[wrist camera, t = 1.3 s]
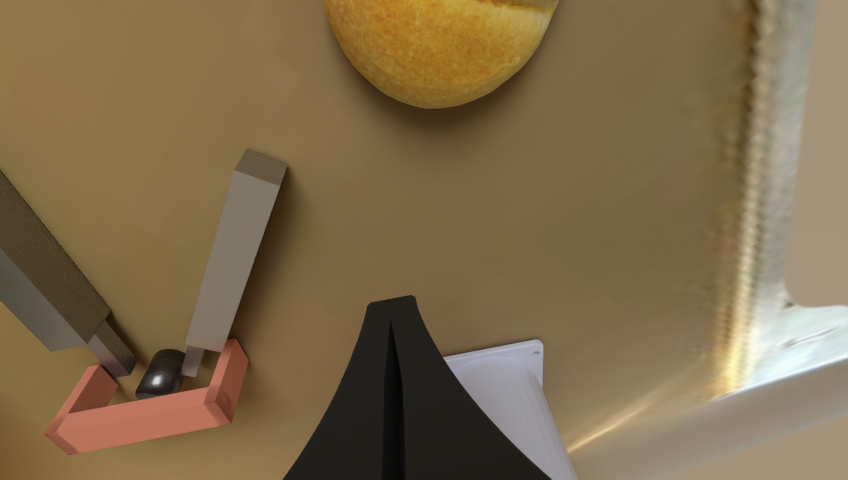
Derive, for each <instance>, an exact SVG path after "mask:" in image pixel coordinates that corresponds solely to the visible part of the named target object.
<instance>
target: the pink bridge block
mask: <svg viewBox="0 0 848 480" xmlns="http://www.w3.org/2000/svg"><path fill="white" fill-rule="evenodd" d="M248 362H249V360H248V358H247V357H246V355H245V353H244V351H243V350H242V348H241V346H240V345H239V343H238V341H237V340H236V338H235V339H230V340H226V343H225V346H224V348H223V351H222V353H221V355H220V357H219V360H218V363H217V366H216V369H215V372H214V374H213V377H212V380H211V383H210V386H209V387H206V388H200V389H195V390H190V391H185V392H180V393H174V394H169V395H164V396H159V397H153V398H148V399H143V400H138V401H132V402H127V403H122V404H117V405H112V406H107V405H108V403H109V401H110V400H111V398H112V396H113V394H114V392H115V391H116V389H117V387H118V385H117V383H116V382H115V381H114V380H113V379H112V378H111V377H110V376H109V375H108V374H107V372H106V371H105V370H104V369H103V368H102V367H101V366H100V365H99V364H98V365H93V366H89V367H88V368H87V370H86V371H85V373H84V374H83V376H82V377H81V379H80V380H79V382H78V384H77V385H76V387H75V388H74V390H73V391H72V393H71V394H70V396H69V397H68V399H67V400H66V402H65V403H64V405H63V406H62V408H61V409H60V411H59V412H58V414H57V415H56V417H55V418H54V420H53V421H52V423H51V424H50V426H49V427H48V429H47V430H46V432H45V433H44V435H45V436H47V437H48V438H49V439H50V440H51V441H53V442H54V443H55V444H56V445H57V446H59V447H60V448H61V449H62V450H63V451H65V452H66V453H67V454H68V455H72V454H77V453H83V452H88V451H93V450H98V449H103V448H108V447H114V446H119V445H124V444H129V443H134V442H140V441H145V440H150V439H155V438H160V437H166V436H171V435H176V434H181V433H186V432H192V431H197V430H202V429H207V428H212V427H218V426H223V425H228V424H231V423H232V419H233V416H234V412H235V408H236V405H237V401H238V398H239V394H240V391H241V387H242V383H243V380H244V376H245V373H246V369H247V366H248Z"/></svg>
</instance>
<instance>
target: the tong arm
mask: <svg viewBox="0 0 848 480" xmlns="http://www.w3.org/2000/svg"><path fill="white" fill-rule="evenodd" d="M287 165H288V164H287V163H284V162H281V161H279V160H276V159H273V158H271V157H268V156H265V155H263V154H260V153H257V152H255V151H252V150H249V149H246V151H245V153H244V154H243V156H242V158H241V159H240V161H239V163H238V164H237V166H236V168H235V170H234V172H233V176H232V180H231V183H230V187H229V190H228V194H227V197H226V201H225V204H224V208H223V211H222V215H221V218H220V222H219V225H218V229H217V233H216V236H215V240H214V243H213V247H212V250H211V254H210V257H209V261H208V264H207V268H206V271H205V275H204V279H203V282H202V286H201V289H200V293H199V296H198V300H197V303H196V307H195V310H194V314H193V317H192V321H191V325H190V328H189V332H188V335H187V339H186V342H185V345H188V349H187V352H186V356H185V359H184V363H183V366H182V370H181V373H180V374H181V375H186V376H192V377H196V375H197V372H198V370H199V367H200V364H201V362H202V359H203V355H204V352H205V349H207V350H212V351H217V352H221V353H222V351H223V348H224V346H225V343H226V340H227V337H228V334H229V331H230V329H231V326H232V323H233V320H234V317H235V314H236V311H237V309H238V306H239V303H240V300H241V297H242V294H243V291H244V289H245V286H246V283H247V280H248V277H249V274H250V271H251V269H252V266H253V263H254V260H255V257H256V254H257V251H258V249H259V246H260V243H261V240H262V237H263V234H264V231H265V228H266V226H267V223H268V220H269V217H270V214H271V211H272V208H273V206H274V203H275V200H276V197H277V194H278V191H279V188H280V186H281V183H282V180H283V177H284V174H285V171H286V168H287Z"/></svg>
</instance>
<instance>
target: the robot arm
mask: <svg viewBox="0 0 848 480" xmlns="http://www.w3.org/2000/svg"><path fill="white" fill-rule="evenodd" d="M542 386H543V344H542V342H541V341H540V340H530V341H525V342H520V343H514V344H509V345H504V346H499V347H494V348H488V349H483V350H478V351H473V352H467V353H462V354H457V355H452V356H447V357H442V355H441V354H440V352H439V350H438V349H437V347H436V345H435V343H434V342H433V340H432V338H431V336H430V334H429V332H428V330H427V329H426V326H425V324H424V322H423V320H422V318H421V315H420V313H419V310H418V307H417V302H416V298H415V297H414V296H412V295H409V296H403V297H398V298H393V299H388V300H382V301H377V302H372V303H370V304H369V305H368V306H367V310H366V314H365V318H364V322H363V325H362V328H361V332H360V335H359V338H358V341H357V343H356V346H355V349H354V351H353V354H352V356H351V359H350V362H349V364H348V367H347V369H346V371H345V373H344V376H343V378H342V380H341V382H340V384H339V387H338V389H337V391H336V393H335V395H334V397H333V399H332V401H331V403H330V405H329V407H328V409H327V411H326V412H325V414H324V416H323V418H322V420H321V421H320V423H319V425H318V427H317V428H316V430H315V432H314V433H313V435H312V436H311V438H310V440H309V441H308V443H307V445H306V446H305V448H304V449H303V451H302V453H301V454H300V456H299V457H298V459H297V460H296V462H295V463H294V464H293V466H292V467H291V469H290V470H289V471H288V473H287V474H286V476H285V477H284V478H283V480H578V477H577V475H576V472H575V470H574V467H573V465H572V462H571V460H570V458H569V455H568V453H567V450H566V448H565V445H564V443H563V440H562V438H561V435H560V433H559V430H558V428H557V425H556V423H555V420H554V418H553V415H552V413H551V411H550V408H549V406H548V403H547V401H546V398H545V396H544V393H543V391H542Z"/></svg>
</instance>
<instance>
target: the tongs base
mask: <svg viewBox="0 0 848 480" xmlns="http://www.w3.org/2000/svg"><path fill="white" fill-rule="evenodd" d="M0 300H1V302H2V303H3V304H4V305H5V306H6V307H7V308H8V309H9V310H10V311H11V312H12V313H13V314H14V315H15V316H16V317H17V318H18V319H19V320H20V321H21V322H22V323H23V324H24V325H25V326H26V327H27V328H28V329H29V330H30V331H31V332H32V333H33V334H34V335H35V336H36V337H37V338H38V339H39V340H40V341H41V342H42V343H43V344H44V345H45V346H46V347H47V348H48V349H49V350H50V351H56V350H61V349H66V348H72V347H77V346H82V345H87V347H88V348H89V349H90V350H91V351H92V352H93V353H94V354H95V355H96V357H97V358H98V359H99V360H100V361H101V362H102V363H103V364H104V365H105V367H106V368H107V369H108V370H109V371H110V372H111V373H112V374H113V375H114V377H115V378H117V377H122V376H128V375H130V374H131V372H132V371H133V369H134V367H135V365H136V363H137V362H138V360H137V359H136V357H135V356H134V355H133V354H132V353H131V351H130V350H129V349H128V348H127V346H126V345H125V344H124V343H123V342H122V340H121V339H120V338H119V337H118V335H117V334H116V333H115V332H114V331H113V329H112V328H111V327H110V326H109V325H108V323H107V322H106V321H105V318H106V317H107V316H108V314H109V313H110V311H111V310H110V308H109V307H108V306H107V305H106V303H105V302H104V301H103V300H102V298H101V297H100V296H99V294H98V293H97V292H96V291H95V289H94V288H93V287H92V286H91V284H90V283H89V282H88V281H87V279H86V278H85V277H84V276H83V274H82V273H81V272H80V271H79V269H78V268H77V267H76V266H75V264H74V263H73V262H72V260H71V259H70V258H69V257H68V255H67V254H66V253H65V252H64V250H63V249H62V248H61V247H60V245H59V244H58V243H57V242H56V240H55V239H54V238H53V237H52V235H51V234H50V233H49V232H48V230H47V229H46V228H45V226H44V225H43V224H42V223H41V221H40V220H39V219H38V218H37V216H36V215H35V214H34V213H33V211H32V210H31V209H30V208H29V206H28V205H27V204H26V203H25V201H24V200H23V199H22V198H21V196H20V195H19V194H18V192H17V191H16V190H15V189H14V187H13V186H12V185H11V184H10V182H9V181H8V180H7V179H6V177H5V176H4V175H3V174H2V172H1V171H0ZM185 356H186V354H184V353H183V352H180V351H177V350H173V349H165V350H161V351H159V352H157V353H156V354H155V355H154V357H153V359H152V361H151V363H150V365H149V367H148V368H147V370H146V372H145V374H144V376H143V378H142V380H141V382H140V384H139V386H138V388H137V390H136V397H137V398H138V399H139V400H143V399H148V398H153V397H159V396H164V395H169V394H174V393H178V392H179V390H180V387H181V385H182V383H183V380H184V378H185V375H181V374H180V373H181V370H182V366H183V363H184V359H185Z"/></svg>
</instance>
